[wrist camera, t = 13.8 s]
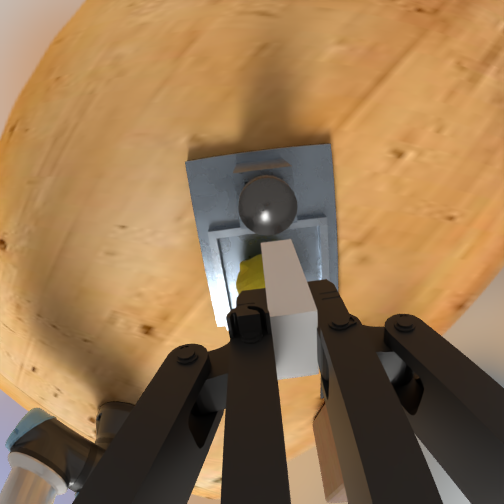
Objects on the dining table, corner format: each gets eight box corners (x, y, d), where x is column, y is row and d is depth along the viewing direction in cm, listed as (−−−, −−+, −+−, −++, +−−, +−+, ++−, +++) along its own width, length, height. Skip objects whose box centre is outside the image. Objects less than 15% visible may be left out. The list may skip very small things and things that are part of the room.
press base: (218, 320, 48) (211, 366, 38) (187, 160, 39) (166, 171, 29) (335, 306, 47) (354, 349, 37) (327, 143, 38) (353, 148, 28)
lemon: (222, 265, 43) (217, 295, 35) (267, 228, 41) (271, 251, 33) (274, 316, 46) (278, 351, 38) (317, 284, 44) (329, 315, 36)
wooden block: (373, 395, 55) (403, 475, 37) (351, 425, 59) (372, 501, 40) (329, 392, 54) (351, 481, 36) (310, 423, 58) (324, 505, 39)
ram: (244, 209, 37) (242, 238, 28) (238, 167, 36) (234, 182, 26) (286, 204, 37) (299, 231, 27) (281, 162, 35) (294, 175, 26)
